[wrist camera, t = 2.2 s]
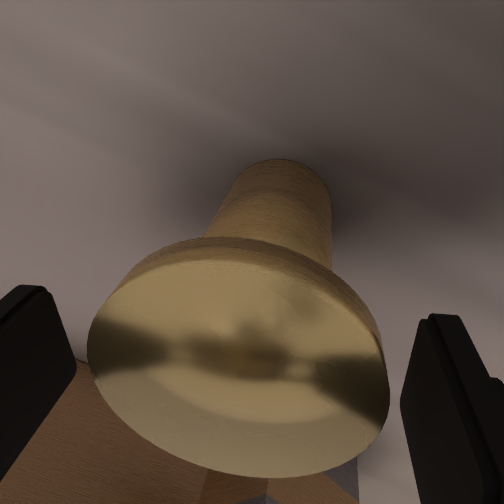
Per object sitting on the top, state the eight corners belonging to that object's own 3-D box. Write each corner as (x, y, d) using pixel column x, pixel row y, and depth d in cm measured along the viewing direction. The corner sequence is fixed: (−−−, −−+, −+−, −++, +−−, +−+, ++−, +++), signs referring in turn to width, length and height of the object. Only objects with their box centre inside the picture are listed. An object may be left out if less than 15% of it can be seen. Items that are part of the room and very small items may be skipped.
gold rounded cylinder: (285, 92, 12) (227, 195, 5) (392, 220, 14) (456, 430, 7) (173, 199, 15) (35, 361, 8) (272, 296, 17) (231, 500, 10)
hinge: (140, 264, 17) (20, 422, 11) (391, 483, 23) (417, 678, 16) (-1, 390, 25) (-123, 528, 18) (213, 531, 30) (180, 676, 24)
